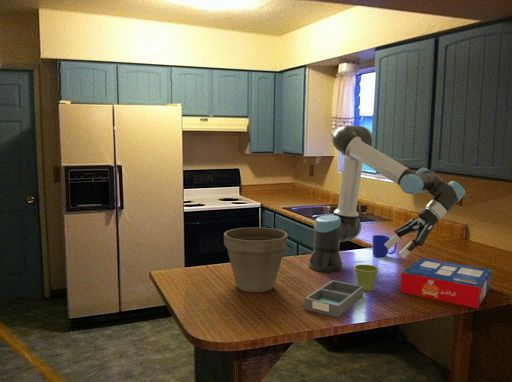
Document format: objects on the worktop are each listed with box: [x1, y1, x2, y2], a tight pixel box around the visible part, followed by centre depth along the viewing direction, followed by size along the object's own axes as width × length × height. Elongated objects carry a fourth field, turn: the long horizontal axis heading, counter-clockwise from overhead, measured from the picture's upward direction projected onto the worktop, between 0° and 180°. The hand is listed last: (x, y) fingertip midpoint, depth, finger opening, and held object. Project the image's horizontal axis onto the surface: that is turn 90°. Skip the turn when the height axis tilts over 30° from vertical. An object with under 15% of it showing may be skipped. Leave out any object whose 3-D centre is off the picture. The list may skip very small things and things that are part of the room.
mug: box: [372, 234, 398, 258], centre depth 234 cm, size 8×12×10 cm
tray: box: [303, 280, 364, 318], centre depth 168 cm, size 13×25×4 cm, turn 148°
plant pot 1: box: [223, 227, 288, 293], centre depth 183 cm, size 25×25×22 cm
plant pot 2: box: [353, 264, 380, 292], centre depth 184 cm, size 9×9×9 cm
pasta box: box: [399, 257, 492, 309], centre depth 185 cm, size 28×8×28 cm
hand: (393, 251), depth 184 cm, fingers open, 13 cm apart
